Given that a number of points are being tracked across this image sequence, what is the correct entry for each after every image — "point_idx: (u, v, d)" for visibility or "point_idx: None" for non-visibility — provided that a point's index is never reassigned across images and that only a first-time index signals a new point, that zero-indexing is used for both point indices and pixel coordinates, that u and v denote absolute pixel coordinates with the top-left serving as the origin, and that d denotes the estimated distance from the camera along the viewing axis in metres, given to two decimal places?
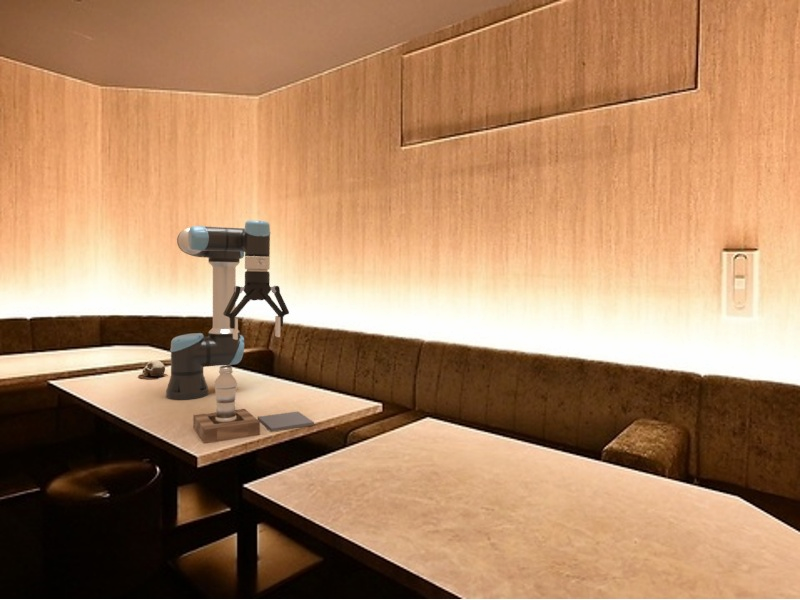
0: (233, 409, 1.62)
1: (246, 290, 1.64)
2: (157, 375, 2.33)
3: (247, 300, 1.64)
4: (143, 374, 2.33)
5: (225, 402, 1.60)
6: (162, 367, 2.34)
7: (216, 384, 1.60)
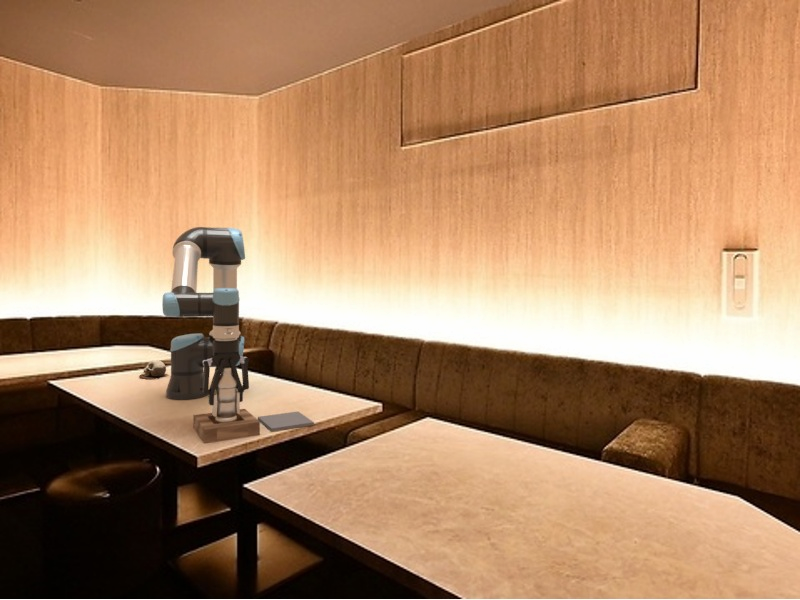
0: (233, 409, 1.62)
1: (214, 361, 1.59)
2: (158, 375, 2.33)
3: (219, 372, 1.59)
4: (144, 374, 2.34)
5: (225, 402, 1.60)
6: (163, 367, 2.34)
7: (217, 384, 1.60)
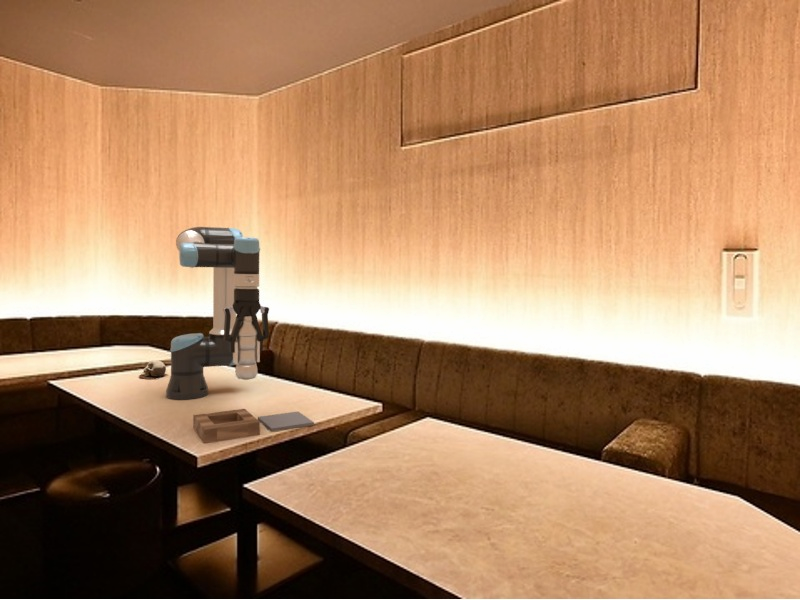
0: (253, 357, 1.64)
1: (235, 309, 1.61)
2: (158, 375, 2.33)
3: (240, 320, 1.61)
4: (144, 374, 2.34)
5: (246, 350, 1.62)
6: (163, 367, 2.34)
7: None
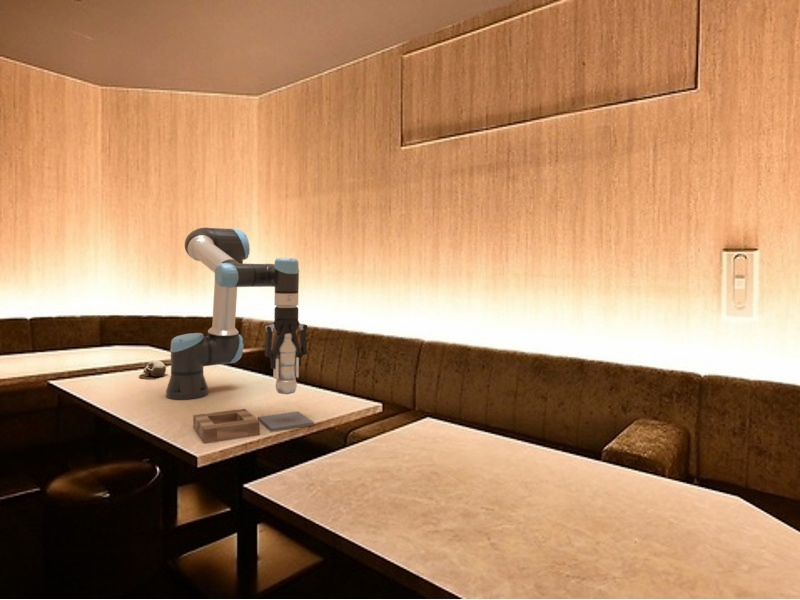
0: (293, 373, 1.71)
1: (276, 326, 1.68)
2: (158, 375, 2.33)
3: (281, 337, 1.69)
4: (144, 374, 2.34)
5: (286, 366, 1.69)
6: (163, 367, 2.34)
7: None
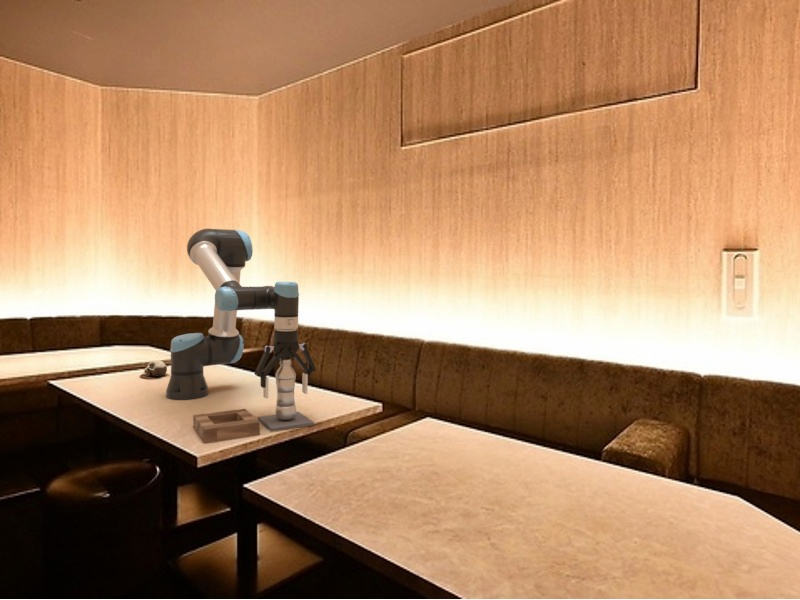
0: (293, 398, 1.72)
1: (276, 349, 1.69)
2: (159, 375, 2.33)
3: (277, 359, 1.69)
4: (145, 374, 2.34)
5: (286, 392, 1.70)
6: (164, 367, 2.34)
7: (277, 375, 1.70)
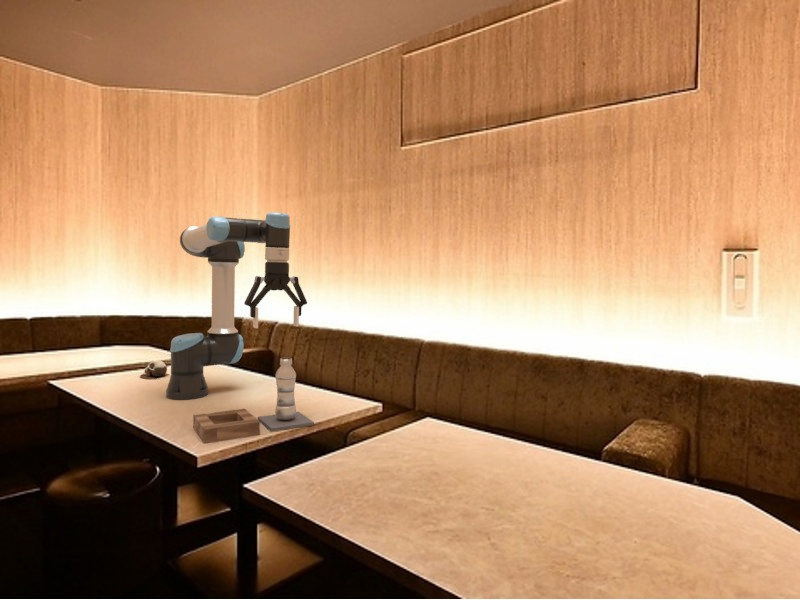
0: (293, 398, 1.72)
1: (266, 280, 1.69)
2: (159, 375, 2.33)
3: (267, 290, 1.69)
4: (145, 374, 2.34)
5: (286, 392, 1.70)
6: (164, 367, 2.34)
7: (277, 375, 1.70)
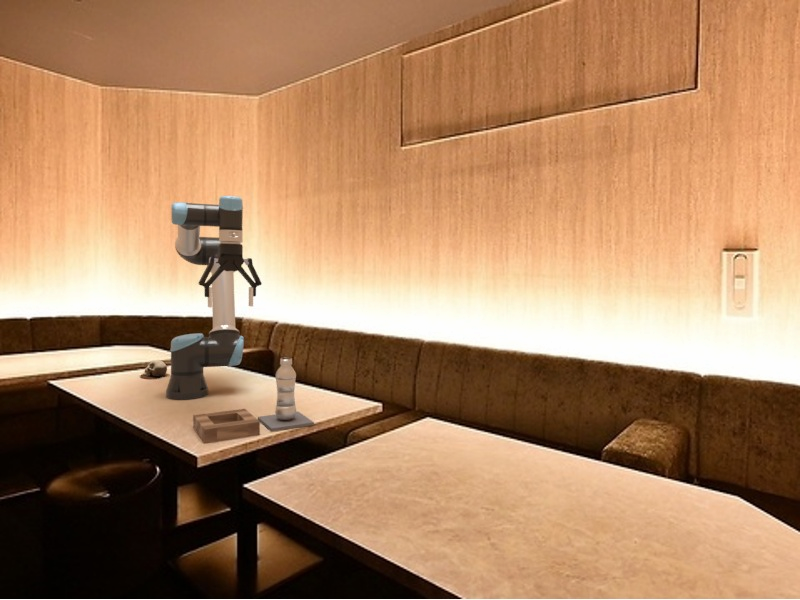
0: (293, 398, 1.72)
1: (220, 261, 1.75)
2: (159, 375, 2.33)
3: (221, 270, 1.75)
4: (145, 374, 2.34)
5: (286, 392, 1.70)
6: (164, 367, 2.34)
7: (277, 375, 1.70)
